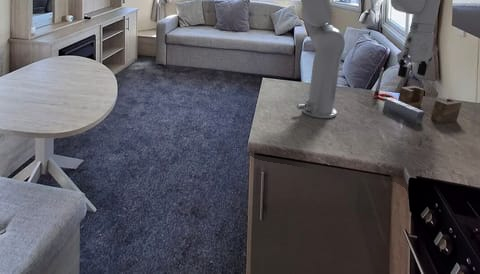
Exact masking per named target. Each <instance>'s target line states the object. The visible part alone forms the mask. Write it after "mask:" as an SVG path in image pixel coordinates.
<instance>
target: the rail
mask: <svg viewBox="0 0 480 274" xmlns="http://www.w3.org/2000/svg"><path fill="white" fill-rule="evenodd" d="M384 98H385V100H384V102H383V108H382V110H383V111H385V112H387V113H390V114H392V115H393V116H396V117H398V118H400V119H402V120H405V121H407V122H409V123H411V124H414V125H421V124H422V123H423V119H424V116H425V110H422V109H419V108H418V107H413V106H410V105H408V104H405V103H403V102H400V101H398V100H397V98H396V99H393V98H391V97H384Z"/></svg>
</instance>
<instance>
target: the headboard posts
mask: <svg viewBox="0 0 480 274" xmlns="http://www.w3.org/2000/svg"><path fill="white" fill-rule="evenodd" d="M425 90H426V89H424V88H422V87H419V86H417V85H410V86H402V87H400V91H399V94H398V98H397V99H398V101H400V102H403V103H405V104H408V105H410V106H413V107H415V108H420V107H421V106H422V101H423V98H424V94H425ZM462 104H463V102H461V101H459V100H456V99H453V98H451V97H450V98H446V101H443V100H440V99H436V100H435V101H434V106H433V109H432V113H431V117H430V120H432V121H434V122H437V123H439V124H448V123H454V122H457V121H458V116H459V115H460V110H461V106H462Z"/></svg>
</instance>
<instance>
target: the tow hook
mask: <svg viewBox="0 0 480 274" xmlns="http://www.w3.org/2000/svg"><path fill="white" fill-rule="evenodd" d="M384 70H385V68H384V67H382V68H381V70H380V73H379V76H378V79H377V84H376V87H375V91H374V94H373V97H372V98H373V99H379V100H382V101H385V98H386V97H387V98H393V99H396V100H397V97H396V96H395V95H393V94H390V93H387V92H380V89H381V83H382V79H383V75H384Z"/></svg>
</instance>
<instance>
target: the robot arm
mask: <svg viewBox="0 0 480 274" xmlns="http://www.w3.org/2000/svg"><path fill="white" fill-rule="evenodd" d="M300 2H301V5H302V6H301V9H300V14H301V17H302V20H303V23H304V26H305V28H306V31H307V34H308V36H309V39H310V40H311V43H312V45H313V46H314V47H315V53H314V57H313V62H312V67H311V68H312V69H311V78H310V84H309V85H310V87H309V92H308V93H309V94H308V99H306V100H305V102H304V103H300V104H297V105H296V109H297V110H302V112H303V113H304V114H305V115H307V116H309V117H313V118H316V119H331V118H334V117H337V110H336V109H335V108H334V105H335V100H336V99H335V98H336V92H337V87H338V86H337V85H338V80H339V79H338V78H339V73H340V67H341V66H340V65H341V61H342V59H343V54H344V51H345V46H346V45H345V43H346V42H345V37H344V34H343V33H342V32H341V31H340V30H339V29H337V28H336V27H335V26H334V23H333V20H332V17H333V8H332V5H331V2H330V0H300ZM390 4H391V6H392V8H393V9H394V10H395V11H397V12H401V13H405V14H409V15H412V19H411V24H410V26H409V28H410V29H409V31H408V33H407V36H406V39H405V42H404V45H403V49H402V50H401V51H400V52H398V53H397V55H396V57H397V58H396V59H397V63H398V67H399V68H398V71H397V72H398V73H397V76H398V77H400V78H403V79H406V77H407V73H408V70H409V69H408V68H409V67H408V65H409V64H410V63H411V62H412V63H417V62H418V66H417V72H416V75H419V76H424V77H425V75H426V71H427V68H428V66H429V64H430V62H431V60H432V58H433V56H434V55H435V52H434V50H433V49H434V42H435V41H434V40H435V33H434V30H435V29H434V28H435V25H436V21H437V16H438V13H439V9H440V5H441V0H390Z"/></svg>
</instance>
